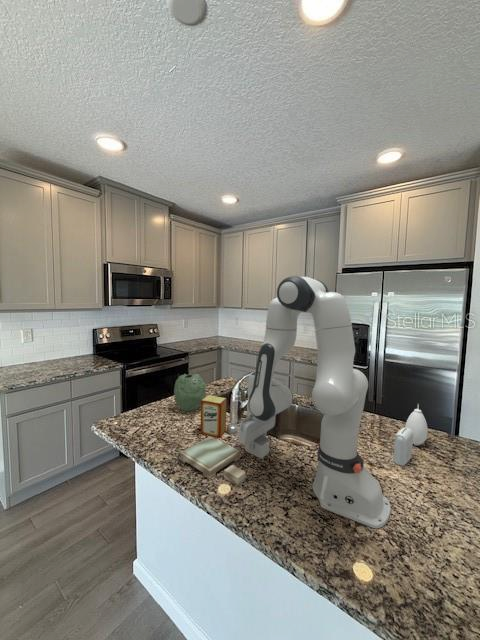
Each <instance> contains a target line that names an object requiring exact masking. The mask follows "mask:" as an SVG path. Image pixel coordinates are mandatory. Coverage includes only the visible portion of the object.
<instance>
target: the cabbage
mask: <svg viewBox="0 0 480 640" xmlns="http://www.w3.org/2000/svg"><path fill="white" fill-rule="evenodd" d="M174 383H175V384H174V389H173V394H174V401H175V404H176V405H177V406H178V407H179V408H180V409H181V410H183V411H185V412H192V411H196V410H197V409H199V408H201V400H202V399H203V398H205V397H206V396H207V395H206V394H207V393H206V392H207V391H208V390H207V383H206V382H205V381H204V378H202V376H201V375H200V374H199V373H194V374H193V373H192V374H191V373H190V374H186V373H184V374H181V375H179V376H178V378H177V379H176V381H175V382H174Z"/></svg>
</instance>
